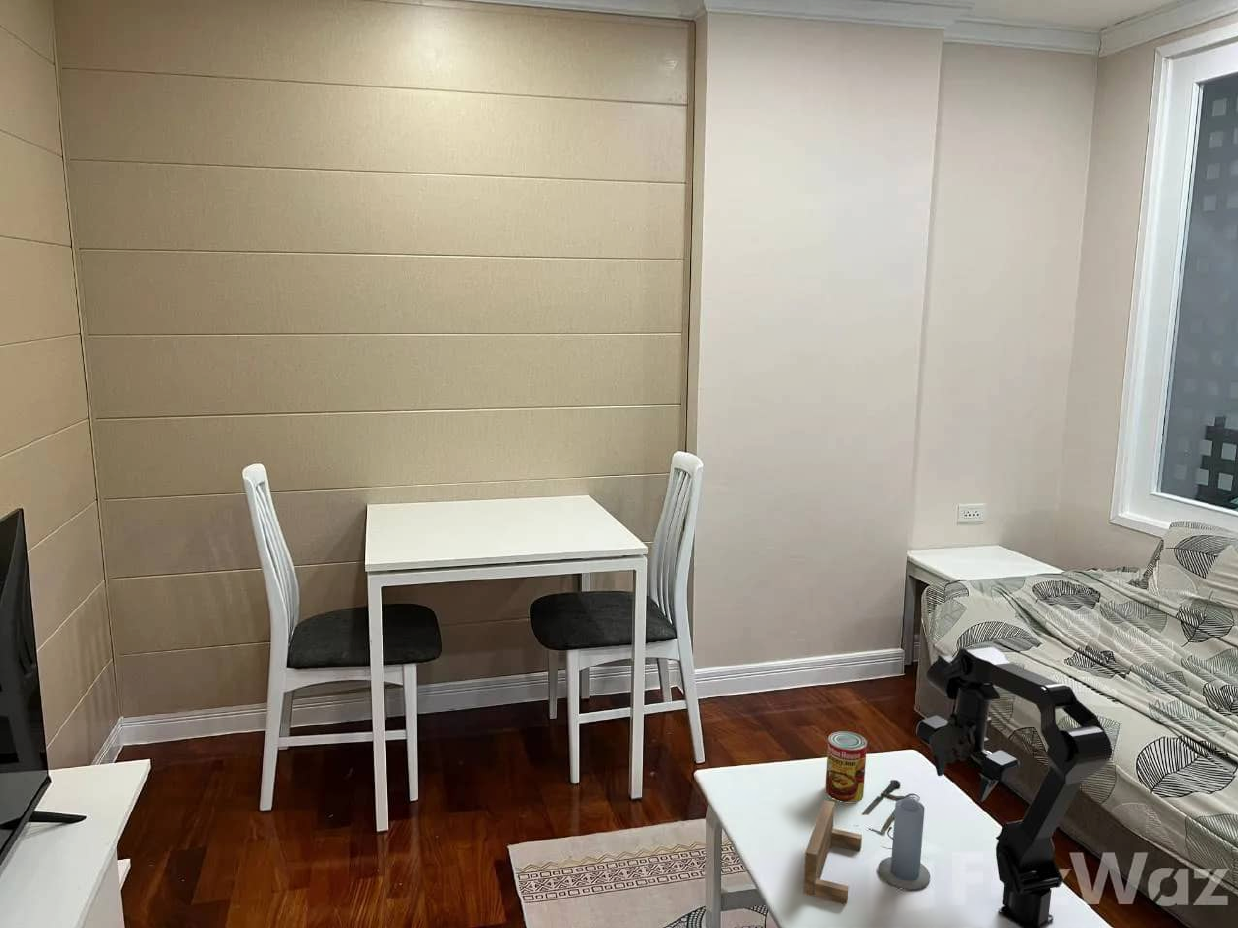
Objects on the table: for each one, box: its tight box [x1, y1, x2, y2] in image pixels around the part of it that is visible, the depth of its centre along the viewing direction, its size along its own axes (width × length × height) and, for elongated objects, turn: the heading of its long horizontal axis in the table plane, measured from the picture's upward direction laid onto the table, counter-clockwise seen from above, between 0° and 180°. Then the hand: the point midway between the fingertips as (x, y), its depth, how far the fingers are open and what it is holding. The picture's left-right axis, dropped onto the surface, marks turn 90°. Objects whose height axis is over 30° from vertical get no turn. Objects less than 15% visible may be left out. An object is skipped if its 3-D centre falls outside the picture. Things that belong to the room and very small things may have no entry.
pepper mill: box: [890, 796, 926, 881], centre depth 167 cm, size 5×5×15 cm
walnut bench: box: [802, 799, 863, 905], centre depth 170 cm, size 8×18×8 cm, turn 158°
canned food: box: [824, 730, 868, 803], centre depth 195 cm, size 8×8×12 cm
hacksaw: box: [853, 779, 920, 850], centre depth 188 cm, size 24×10×2 cm, turn 141°
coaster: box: [877, 856, 931, 891], centre depth 169 cm, size 9×9×1 cm
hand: (960, 787), depth 173 cm, fingers open, 9 cm apart
